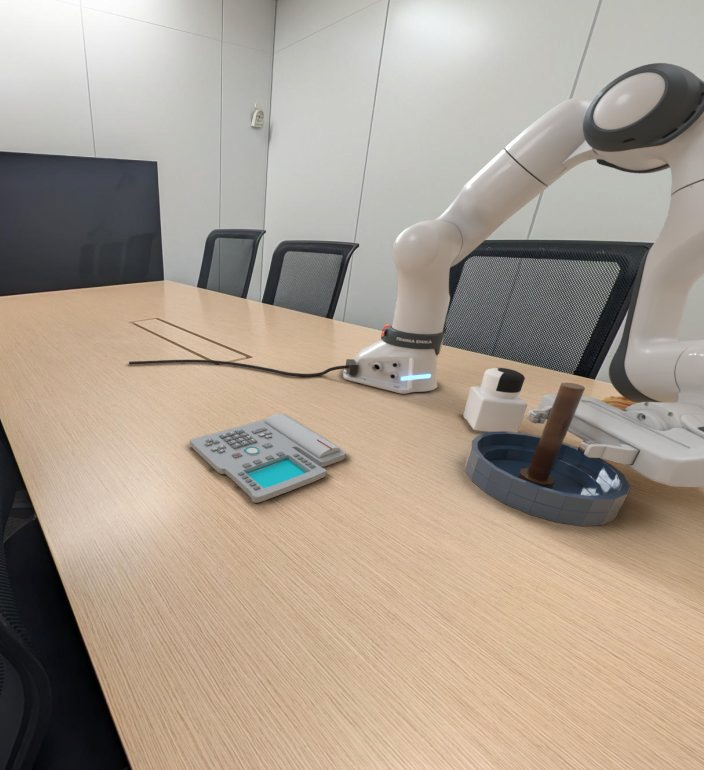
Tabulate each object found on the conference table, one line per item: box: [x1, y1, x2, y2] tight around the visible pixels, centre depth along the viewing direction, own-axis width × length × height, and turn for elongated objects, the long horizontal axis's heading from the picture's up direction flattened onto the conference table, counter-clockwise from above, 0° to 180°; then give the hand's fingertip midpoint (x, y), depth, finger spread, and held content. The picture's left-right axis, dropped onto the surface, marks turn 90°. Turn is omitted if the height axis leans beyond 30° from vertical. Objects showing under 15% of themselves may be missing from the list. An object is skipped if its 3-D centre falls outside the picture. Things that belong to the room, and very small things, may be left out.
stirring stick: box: [518, 382, 586, 489], centre depth 55 cm, size 4×4×17 cm
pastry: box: [600, 395, 636, 410], centre depth 77 cm, size 9×7×4 cm
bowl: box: [464, 431, 632, 527], centre depth 57 cm, size 18×18×5 cm
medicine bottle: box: [462, 367, 528, 433], centre depth 73 cm, size 7×7×12 cm
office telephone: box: [189, 413, 346, 504], centre depth 68 cm, size 23×3×20 cm
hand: (554, 431), depth 54 cm, fingers open, 8 cm apart
